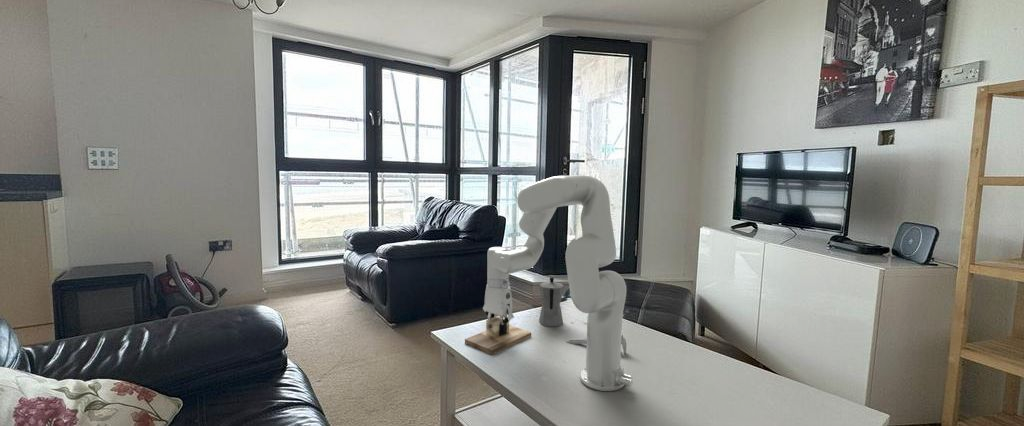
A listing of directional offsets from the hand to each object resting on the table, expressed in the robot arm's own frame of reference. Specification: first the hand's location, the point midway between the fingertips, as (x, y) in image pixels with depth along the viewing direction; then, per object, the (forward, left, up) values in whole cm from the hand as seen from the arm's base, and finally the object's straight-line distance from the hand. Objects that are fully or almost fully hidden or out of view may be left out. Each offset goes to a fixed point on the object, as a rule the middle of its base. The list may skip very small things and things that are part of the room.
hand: (497, 331), depth 149 cm
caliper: (-30, -16, -2) cm, 34 cm away
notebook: (-2, +2, -2) cm, 3 cm away
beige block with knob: (0, 0, 0) cm, 0 cm away
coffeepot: (-6, -23, -2) cm, 24 cm away
